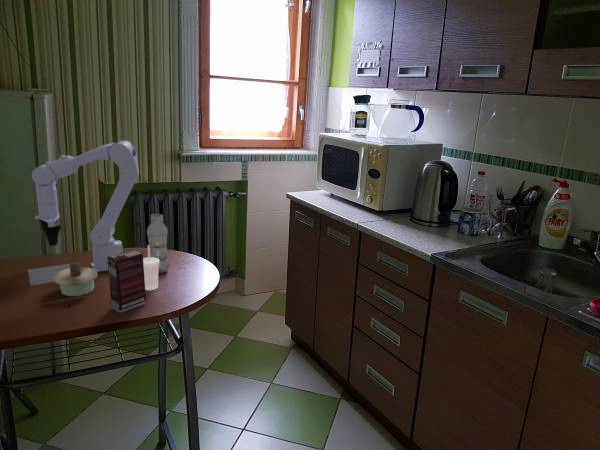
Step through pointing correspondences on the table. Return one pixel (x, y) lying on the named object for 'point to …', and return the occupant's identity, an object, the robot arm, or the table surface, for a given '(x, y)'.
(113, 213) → the robot arm
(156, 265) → the beverage cup
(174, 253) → the table surface
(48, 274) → the mat
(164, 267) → the plastic bottle
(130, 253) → the supplement box
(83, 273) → the board
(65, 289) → the bowl
